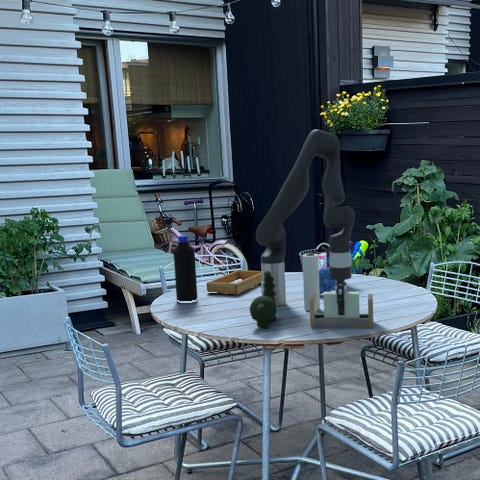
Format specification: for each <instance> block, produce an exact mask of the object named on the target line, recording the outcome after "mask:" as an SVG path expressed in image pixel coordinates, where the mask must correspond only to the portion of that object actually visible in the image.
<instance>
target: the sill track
mask: <svg viewBox="0 0 480 480" xmlns="http://www.w3.org/2000/svg"><path fill="white" fill-rule="evenodd" d="M367 307H368V309H367V313H360V318H324V313H318V312H317V311H318V310H317V308H316V294H311V297H310V311H309V319H310V320H309V321H310V328H311V329H374V297H373V293H367Z"/></svg>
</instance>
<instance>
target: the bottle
mask: <svg viewBox="0 0 480 480" xmlns="http://www.w3.org/2000/svg"><path fill="white" fill-rule="evenodd" d="M177 241H178V243H177V245H176V246H175V248H174V249H173V262H174V263H173V264H174V278H175V279H174V281H175V293H176V294H175V295H176V301H177V300H179V301H192V300H196V299H197V298H198V287H197V285H198V284H197V270H196V255H195V254H196V252H195V248H194V247H193V246H192V244H190V242H189V237H188V235H184V234H183V235H178V236H177Z"/></svg>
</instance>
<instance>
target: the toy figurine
mask: <svg viewBox="0 0 480 480" xmlns="http://www.w3.org/2000/svg"><path fill="white" fill-rule="evenodd" d="M264 276H265V278H264V282H265V283H264V285H263V287H264V289H265V290H264V292H263V296H262V295H260V296H257V297H256V298H254V299H253V300H252V301H251V303H250V305H249V312H250V316H251V319H252V320H253V321H256V325H257V327H258V328H259V329H268V328H269V327H270V323H273V324H274V323H275V322H276V321H277V318H278V316H277V313H278V306H276V304H275V303H276V302H275V298H274V295H276V292H274V290H273V289H274V287H275V284H273V280H274V278H273V277H272V276H271V273H270V272H269V271H265V272H264Z"/></svg>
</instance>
